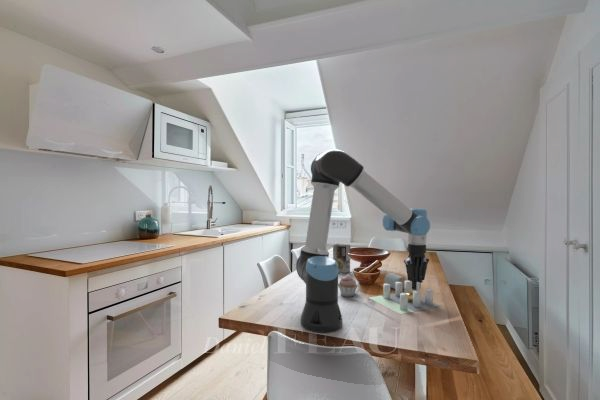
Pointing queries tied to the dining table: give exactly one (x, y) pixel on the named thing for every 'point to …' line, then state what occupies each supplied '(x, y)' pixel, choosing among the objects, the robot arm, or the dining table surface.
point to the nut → (410, 296)
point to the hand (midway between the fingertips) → (415, 296)
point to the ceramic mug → (394, 280)
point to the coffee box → (342, 257)
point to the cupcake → (347, 286)
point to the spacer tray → (404, 299)
